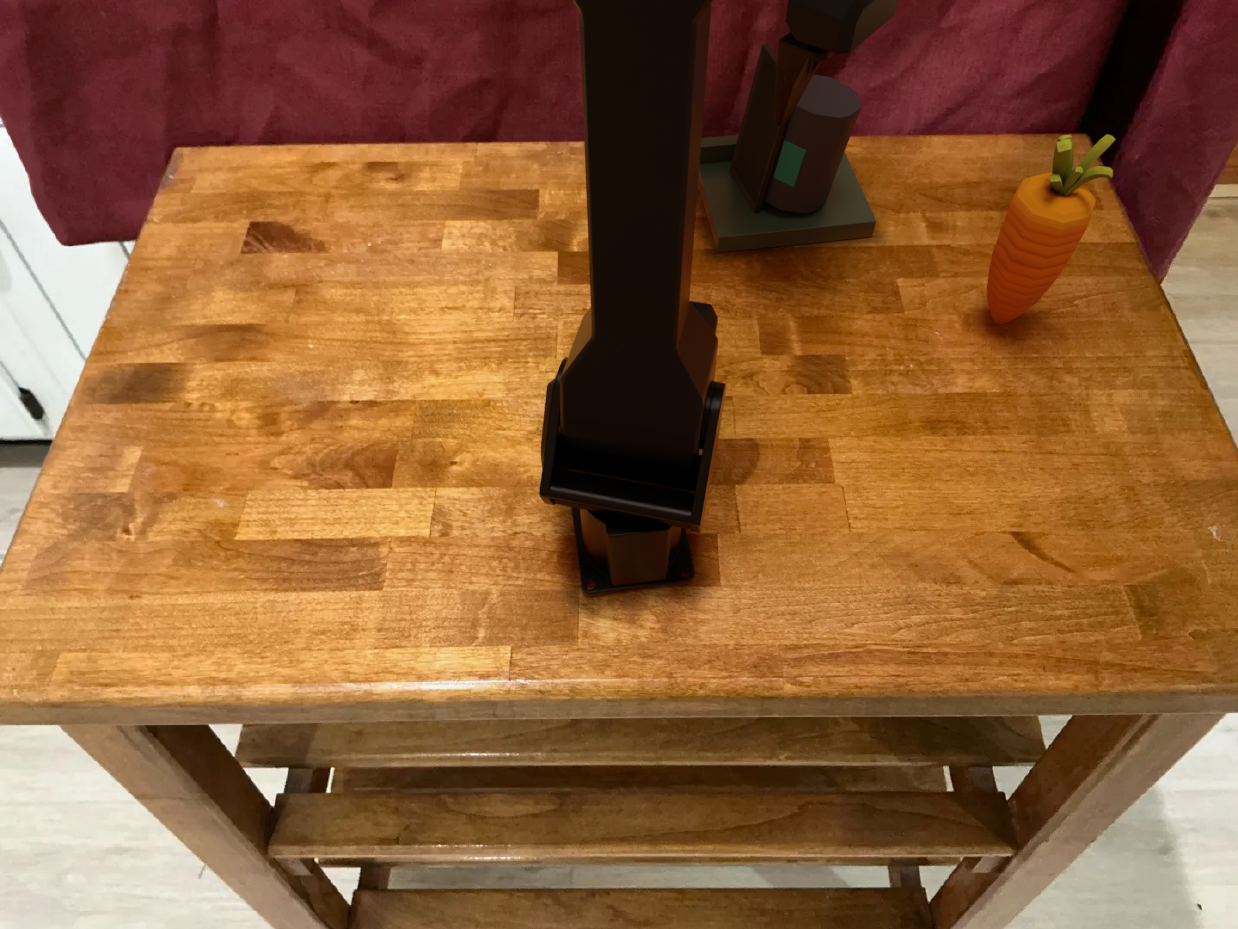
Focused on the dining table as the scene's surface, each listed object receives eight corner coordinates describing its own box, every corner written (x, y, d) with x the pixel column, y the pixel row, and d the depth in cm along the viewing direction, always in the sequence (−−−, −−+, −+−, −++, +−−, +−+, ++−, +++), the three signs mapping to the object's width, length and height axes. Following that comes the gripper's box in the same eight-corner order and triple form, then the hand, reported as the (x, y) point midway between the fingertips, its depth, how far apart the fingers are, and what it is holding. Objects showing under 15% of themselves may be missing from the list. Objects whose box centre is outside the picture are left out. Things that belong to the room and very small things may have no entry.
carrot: (1028, 299, 65) (1121, 111, 52) (1040, 350, 62) (1141, 164, 50) (957, 295, 65) (1033, 106, 53) (966, 346, 62) (1048, 159, 50)
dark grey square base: (872, 236, 69) (881, 204, 66) (717, 252, 68) (720, 220, 66) (836, 156, 75) (843, 124, 72) (692, 170, 74) (695, 138, 71)
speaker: (730, 216, 68) (759, 85, 60) (728, 171, 71) (756, 42, 63) (830, 227, 68) (873, 98, 60) (824, 182, 72) (863, 55, 63)
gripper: (981, -185, 47) (907, 91, 60) (690, -255, 54) (678, 6, 67) (878, -112, 42) (821, 173, 55) (571, -200, 49) (583, 71, 62)
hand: (722, 98), depth 60 cm, fingers open, 9 cm apart
